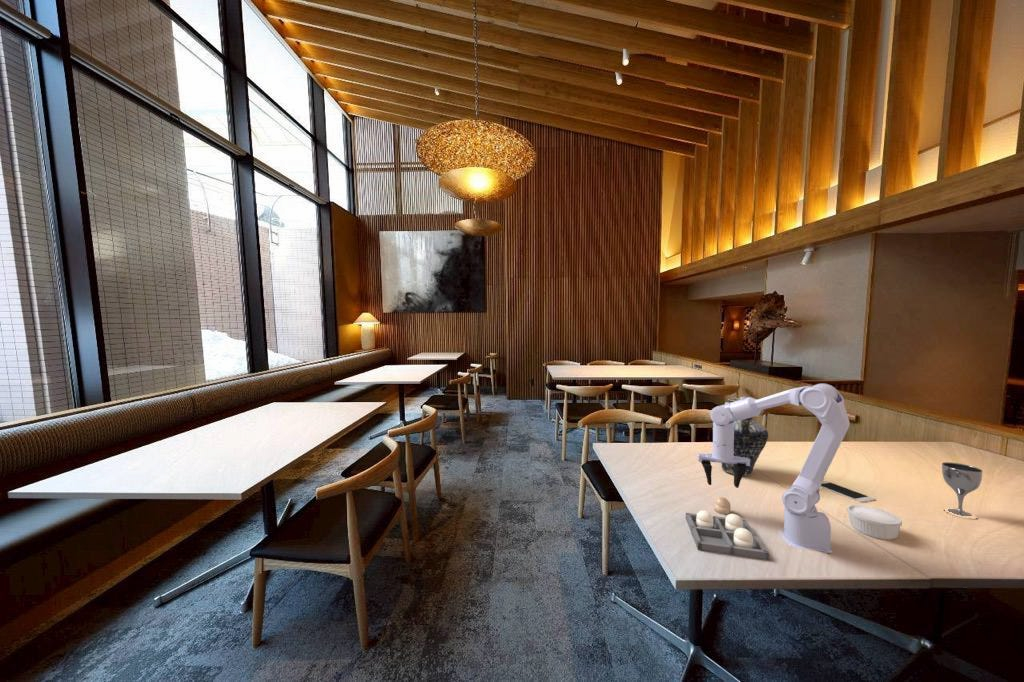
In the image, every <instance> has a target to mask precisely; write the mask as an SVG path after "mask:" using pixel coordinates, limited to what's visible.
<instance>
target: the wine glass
mask: <svg viewBox="0 0 1024 682" xmlns="http://www.w3.org/2000/svg"><path fill="white" fill-rule="evenodd" d="M941 474H942V477H943V480H944V482H945V483H946V485H948V486H949V488H951V489H952V490H953V492H954V493H955V494H956V496H957V503H958V504H957V505H958V508H953V509H948V511H949V512H952V513H954V514H957V515H961V516H972V515H971V514H972V513H971V512H969V511H966V512H965V511H964V510H963V504H964V499H965V497H966V496H967V495H968V494H971V493H972V492H974V491H976V490H978V489H979V488H980V486H981V484H982V481H983V470H982V469H981V468H979V467H977V466H973V465H969V464H965V463H964V464H963V463H958V462H950V461H946V462H945V461H944V462H942V464H941ZM968 512H969V513H968ZM970 513H971V514H970Z"/></svg>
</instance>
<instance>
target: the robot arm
mask: <svg viewBox="0 0 1024 682" xmlns="http://www.w3.org/2000/svg"><path fill="white" fill-rule="evenodd" d="M739 398H740V400H738V401H735V402H731V403H730V402H728V401H727V402H725V403H724V404H721V405H717V406H715V407H713V408H712V409H711V410H710V414H709V416H710V419H711V421H712V424H713V431H712V453H697V455H696V460H697V462H700V463H701V465H702V468H703V470H704V473H705V477H706V483H707V484H708V485H709V486H712V470H713V466H712V463H717V464H718V463H719V464H720V463H721V464H722V463H730V464H733V465H734V474H733V486H734V487H735V488H736V489H738V488H739V486H740V483H741V481H742V478H743V477H744V476H743V475H744V474H745V472H746V471H747V467H746V466H750V459H748V458H745V457H738V456H734V421H739V420H743V419H747V418H751V417H752V418H755V417H758V416H760V415H761V412H762V411H763V410H766V409H770V408H775V407H778V406H783V405H787V404H790V405H793V406H797V407H800V406H803V407H804V408H805V409H807V410H808V411H809V412H811V413H812V414H813V415H815V417H816V418H817V419H818V421H819V422H820V424H821V426H820V429H819V431H818V434H817V436H816V438H815V440H814V442H813V444H812V446H811V447H810V448H811V449H810V450H809V452H808V455H807V457H806V459H805V461H804V463H803V465H802V467H801V469H800V472H799V473H798V475H797V477H796V478H795V480H794V481H793V483H792V485H791V487H790V488H789V489H787V490H785V491H784V492H783V493H782V496H781V500H782V504H783V505H784V509H783V510H784V511H783V513H784V515H783V530H777V532H778V533H779V535H780V536H781V537H782V538H783V540H784V541H785V543H786V544H788V545H789V547H792V548H798V549H807V550H814V551H822V552H825V553H826V554H827V553H828V554H832V553H833V551H832V550H831V542H832V541H831V539H832V538H831V535H832V533H831V532H832V528H831V522H830V519H829V518H828V515H826V514H825V512H822V511H818V509H817V507H816V504H818V503H819V502H820V500H821V494H820V489H821V482H822V481H824V480H823V479H825V476H826V474H827V472H828V470H829V468H830V466H831V464H832V462H833V460H834V458H835V456H836V454H837V451H838V449H839V448H840V445H841V443H842V442H843V439H844V438H845V436H846V434H847V432H848V429H849V428H850V424H851V423H850V419H849V416H848V412H847V409H846V406H845V402H844V399H845V398H844V397H843V395H842V394H841V393H840V392H839V391H838V390H837V389H836V388H835V387H834V386H833V385H830V384H828V383H816V384H814V385H812V386H811V385H806V386H799V387H795V388H791V389H787V390H784V391H781V392H777V393H774V394H771V395H768V396H764V397H762V398H758V399H756V398H755V397H754V398H753V397H752V396H751V397H750V396H748V397H747V396H741V397H739Z"/></svg>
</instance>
